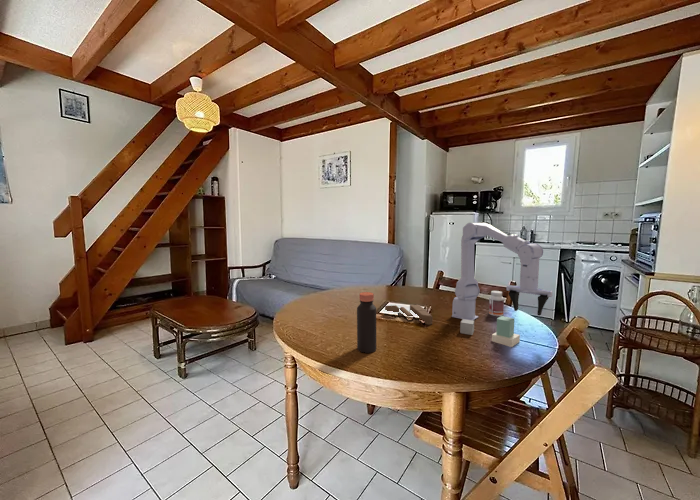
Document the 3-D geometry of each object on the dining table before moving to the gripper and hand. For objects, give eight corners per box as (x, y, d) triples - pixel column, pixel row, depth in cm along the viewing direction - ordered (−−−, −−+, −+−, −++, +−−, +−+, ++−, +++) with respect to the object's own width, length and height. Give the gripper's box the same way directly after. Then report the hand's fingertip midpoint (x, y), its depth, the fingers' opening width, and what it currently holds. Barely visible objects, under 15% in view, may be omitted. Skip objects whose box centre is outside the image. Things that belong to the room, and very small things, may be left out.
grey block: (460, 333, 118) (460, 322, 117) (462, 329, 122) (462, 319, 121) (472, 335, 115) (472, 324, 115) (473, 331, 119) (474, 320, 119)
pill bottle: (506, 315, 139) (506, 292, 138) (498, 317, 136) (499, 294, 134) (493, 311, 144) (494, 289, 143) (486, 314, 141) (486, 291, 140)
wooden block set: (418, 301, 145) (433, 313, 127) (417, 313, 145) (433, 325, 128) (384, 303, 142) (395, 314, 125) (384, 314, 143) (395, 327, 125)
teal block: (496, 334, 109) (496, 318, 109) (501, 331, 112) (501, 315, 112) (509, 337, 106) (510, 321, 105) (513, 334, 109) (514, 318, 108)
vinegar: (370, 355, 99) (370, 297, 97) (353, 350, 103) (353, 294, 101) (379, 347, 105) (379, 292, 103) (363, 343, 108) (362, 290, 106)
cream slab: (491, 342, 109) (492, 334, 109) (499, 337, 114) (500, 329, 114) (511, 348, 104) (512, 340, 104) (519, 342, 109) (519, 335, 108)
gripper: (504, 275, 110) (502, 310, 112) (549, 280, 100) (547, 319, 101) (510, 273, 115) (509, 306, 117) (554, 277, 105) (552, 314, 106)
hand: (527, 312), depth 109 cm, fingers open, 7 cm apart
